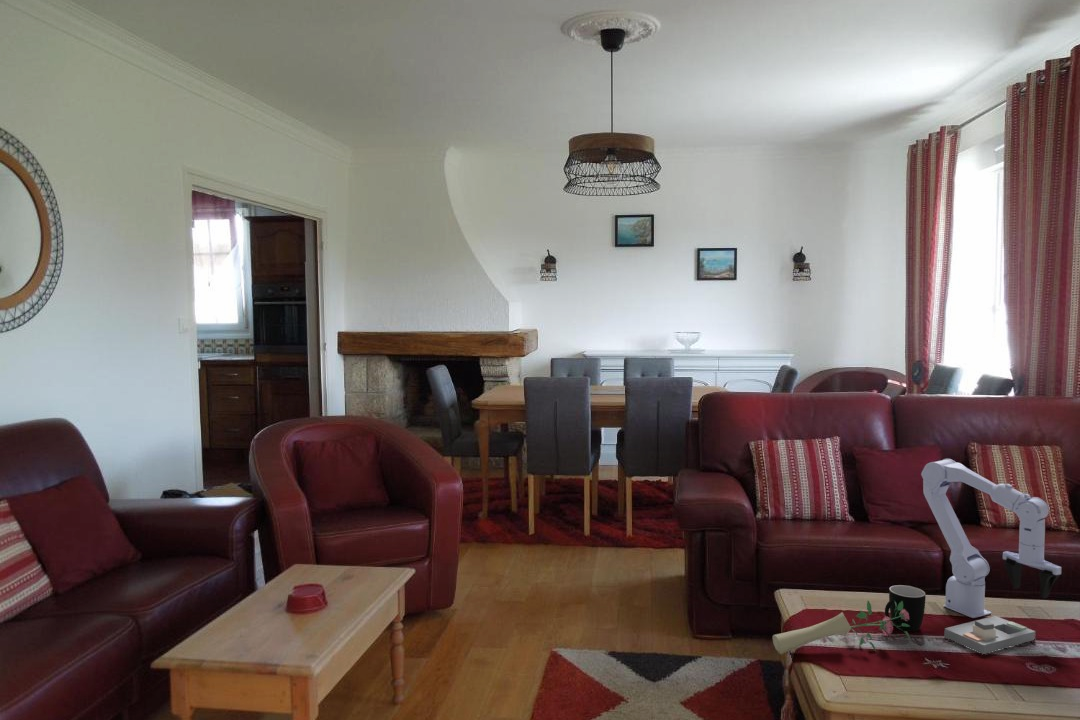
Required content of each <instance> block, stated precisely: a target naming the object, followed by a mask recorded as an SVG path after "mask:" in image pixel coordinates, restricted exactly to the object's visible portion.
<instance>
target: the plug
mask: <svg viewBox="0 0 1080 720" xmlns="http://www.w3.org/2000/svg"><path fill="white" fill-rule="evenodd" d="M974 621H975V625H973V635H975V636H978V637H980V638H982V639H983V640H986V641H987V640H991V639H995V637H996V629H995V628H994V624H993V623H991V622H989V621H987V620H980V619H975V620H974Z"/></svg>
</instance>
